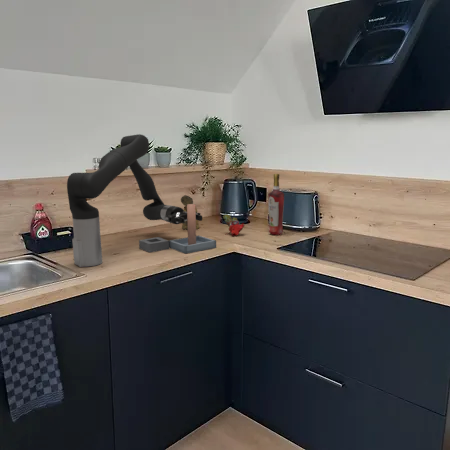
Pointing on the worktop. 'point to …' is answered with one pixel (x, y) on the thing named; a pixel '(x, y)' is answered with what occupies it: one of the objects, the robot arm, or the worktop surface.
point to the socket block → (153, 244)
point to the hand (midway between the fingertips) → (192, 219)
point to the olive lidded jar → (186, 201)
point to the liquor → (276, 208)
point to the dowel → (191, 224)
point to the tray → (200, 245)
